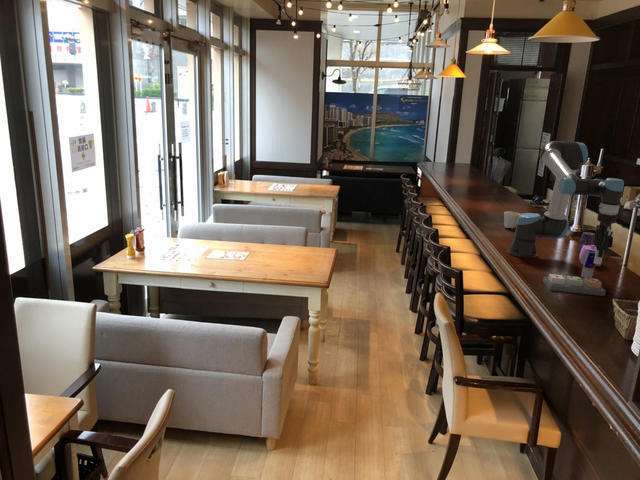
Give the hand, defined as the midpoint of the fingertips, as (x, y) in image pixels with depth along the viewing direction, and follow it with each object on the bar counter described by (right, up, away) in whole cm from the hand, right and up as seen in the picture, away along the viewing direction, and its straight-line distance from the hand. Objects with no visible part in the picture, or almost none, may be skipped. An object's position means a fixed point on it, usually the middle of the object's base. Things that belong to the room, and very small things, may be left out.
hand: (597, 263), depth 236 cm
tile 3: (-1, -11, +3) cm, 11 cm away
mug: (+4, +19, +116) cm, 117 cm away
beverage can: (+28, +3, +66) cm, 72 cm away
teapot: (+21, -2, +48) cm, 52 cm away
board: (-9, -12, +5) cm, 16 cm away
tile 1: (-17, -9, +6) cm, 20 cm away
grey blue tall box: (+5, -9, +19) cm, 21 cm away
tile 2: (-9, -10, +4) cm, 14 cm away
